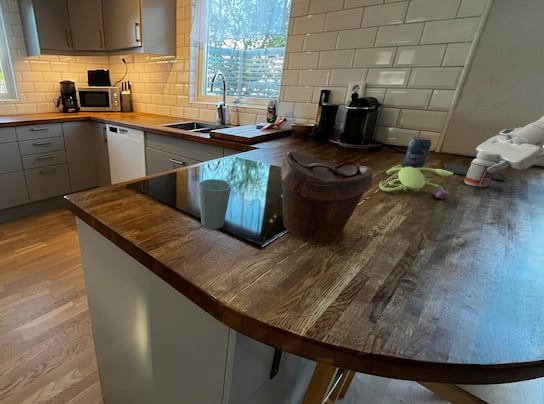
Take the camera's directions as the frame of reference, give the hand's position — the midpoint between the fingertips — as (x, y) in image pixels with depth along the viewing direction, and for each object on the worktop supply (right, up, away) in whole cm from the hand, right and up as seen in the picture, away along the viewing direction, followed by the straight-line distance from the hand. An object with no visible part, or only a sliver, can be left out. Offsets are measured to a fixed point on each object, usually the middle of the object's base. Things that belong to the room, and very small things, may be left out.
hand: (479, 167), depth 102 cm
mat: (+12, 0, +15) cm, 19 cm away
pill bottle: (+1, -6, +2) cm, 6 cm away
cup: (-94, -17, -28) cm, 100 cm away
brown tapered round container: (-70, -19, -30) cm, 79 cm away
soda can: (-7, +2, +21) cm, 22 cm away
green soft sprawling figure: (-23, -7, 0) cm, 24 cm away
